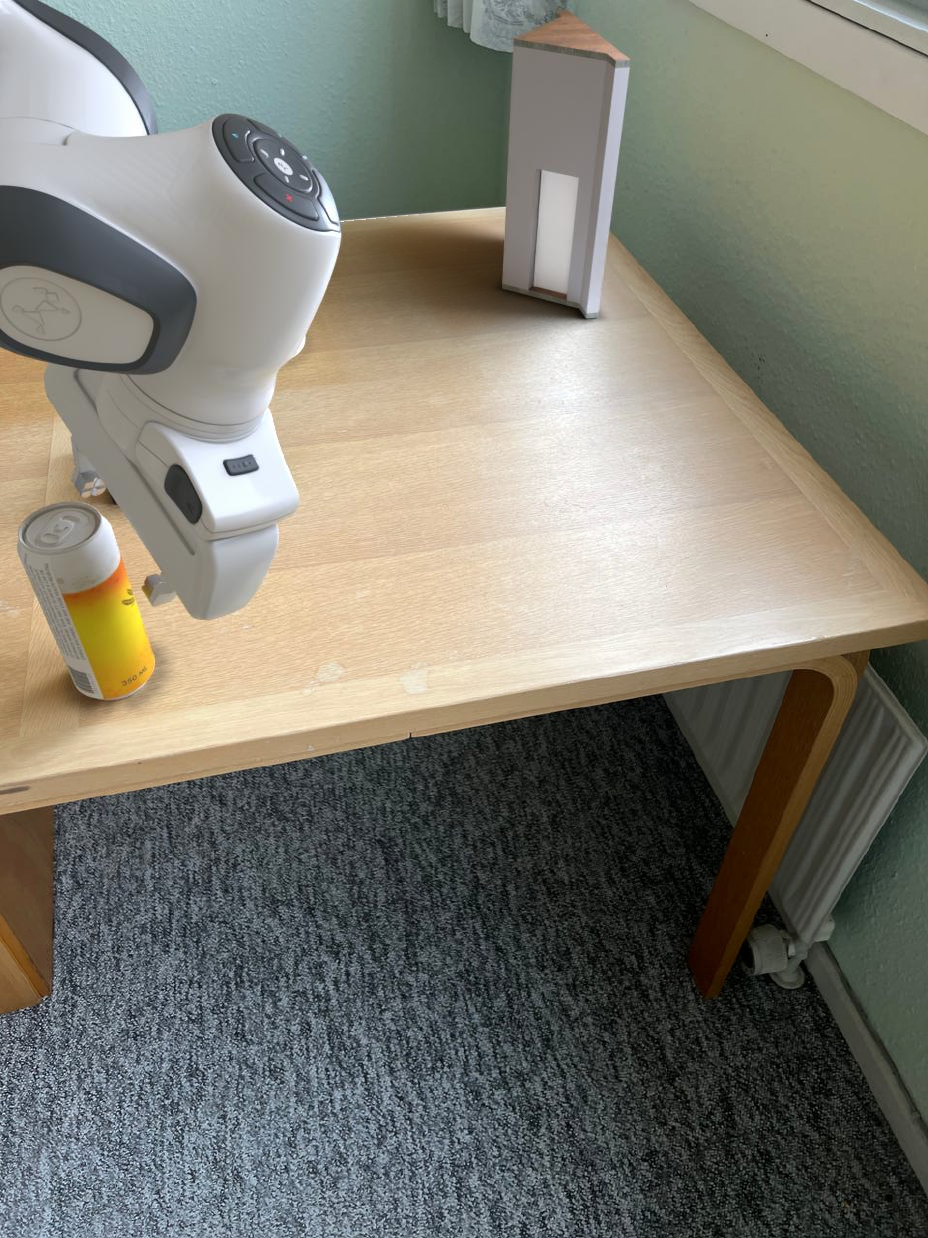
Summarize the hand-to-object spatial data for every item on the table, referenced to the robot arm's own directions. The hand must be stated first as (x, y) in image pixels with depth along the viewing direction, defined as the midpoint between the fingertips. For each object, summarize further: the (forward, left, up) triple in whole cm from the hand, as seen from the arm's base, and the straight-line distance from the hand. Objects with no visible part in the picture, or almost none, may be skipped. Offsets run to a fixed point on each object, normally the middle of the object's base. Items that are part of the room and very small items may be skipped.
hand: (121, 541), depth 63 cm
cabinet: (+48, +58, -13) cm, 76 cm away
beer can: (-3, 0, -13) cm, 14 cm away
